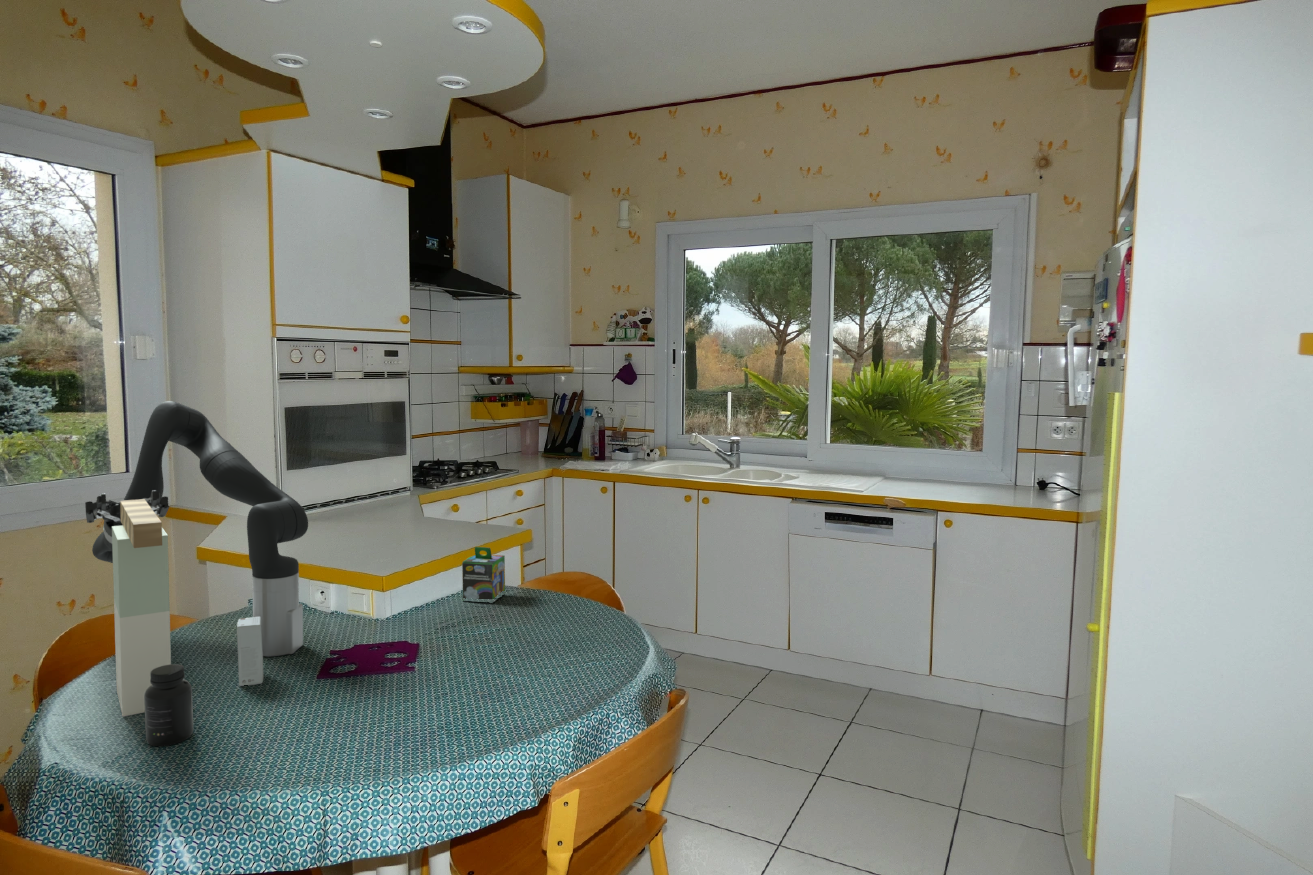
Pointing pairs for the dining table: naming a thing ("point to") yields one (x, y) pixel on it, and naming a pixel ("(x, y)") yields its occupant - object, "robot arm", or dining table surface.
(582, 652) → the dining table surface
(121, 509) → the beam
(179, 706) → the supplement bottle
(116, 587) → the tower
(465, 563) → the chalk box
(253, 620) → the skincare box
